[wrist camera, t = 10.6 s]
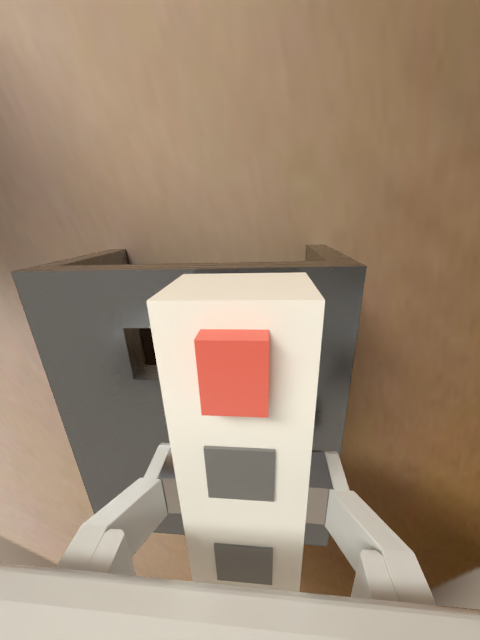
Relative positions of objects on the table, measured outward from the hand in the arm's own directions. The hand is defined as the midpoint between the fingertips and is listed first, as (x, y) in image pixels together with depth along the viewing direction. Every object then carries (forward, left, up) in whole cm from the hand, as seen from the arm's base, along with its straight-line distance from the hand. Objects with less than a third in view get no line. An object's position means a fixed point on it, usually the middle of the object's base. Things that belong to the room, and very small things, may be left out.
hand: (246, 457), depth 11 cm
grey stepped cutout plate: (+2, 0, -8) cm, 9 cm away
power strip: (0, 0, -4) cm, 4 cm away
